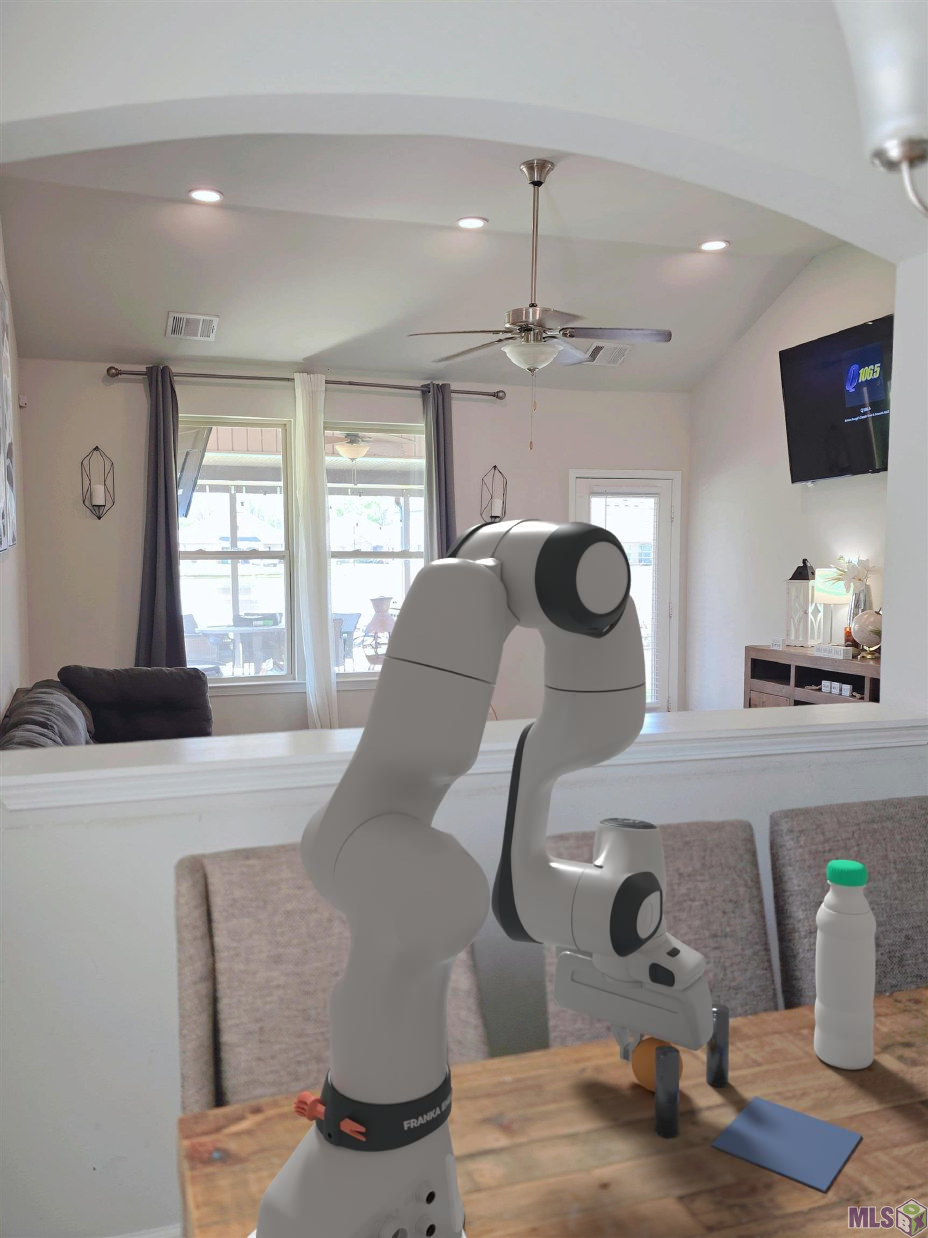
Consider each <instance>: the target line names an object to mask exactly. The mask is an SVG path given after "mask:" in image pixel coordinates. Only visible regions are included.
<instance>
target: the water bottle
mask: <svg viewBox="0 0 928 1238" xmlns="http://www.w3.org/2000/svg"><path fill="white" fill-rule="evenodd" d="M826 880H827V884H828V885H829V891H828V892H827V894H826V895H825V896H824V898H823V902H822V903H821V904H820V906H819V908H818V910H817V912H816V917H815V922H816V927H817V932H816V941H815V942H816V944H815V992H816V999H815V1002H814V1003H815V1004H814V1020H815V1027H814V1032H813V1033H814V1036H813V1049H814V1052H815V1055H817V1057H818V1058H819V1059H820V1060H821V1061H822V1062H824V1063H826V1064H827V1065H830V1066H832V1067H835V1068H838V1069H842V1070H843V1069H844V1070H848V1071H849V1070H852V1071H855V1070H857V1071H858V1070H862V1069H865V1068H867V1067H869V1066H870V1065H871V1064H872V1063H873V1061H874V1057H875V1056H874V1055H875V1050H874V1049H875V1046H874V1045H875V1044H874V1043H875V1042H874V1035H873V1033H874V1027H875V1009H874V999H875V998H874V997H875V988H876V942H875V934H876V931H877V922H876V921H877V920H876V918H875V916H874V914H873V911H872V909H871V908H870V905H869V902H868V900H867V898H866V897H865V895H864V889H865V888H866V887H867V885H866V884H867V883H868V869H867V867H866V866H865V865H864V864H862V863H861V862H858V861H855V860H848V859H834V860H831V861H829V862H828V864H827V866H826Z"/></svg>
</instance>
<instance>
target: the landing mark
mask: <svg viewBox="0 0 928 1238" xmlns="http://www.w3.org/2000/svg"><path fill="white" fill-rule="evenodd" d="M862 1137H863V1134H860V1133H858V1132H856V1131H852V1130H850V1129H847V1128H845V1127H841V1126H839V1125H836V1124H833V1123H830V1122H827V1121H826V1120H825V1121H824V1120H822V1119H820V1118H817V1117H814V1116H811V1115H809V1114H805V1113H803V1112H800V1111H797V1110H794V1109H791V1108H789V1107H786V1106H784V1105H780V1104H778V1103H776V1102H773V1101H770V1100H767V1099H765V1098H761V1097H759V1096H754V1097H753V1098H752V1099H751V1100H750V1102H749V1103H748V1104H747V1105H746V1106H745V1107H744V1108H743V1109H742V1110H741V1112H740V1113H739V1114H738V1115H736V1116H735V1118H734V1119H733V1120H732V1121H731V1122H730V1123H729V1124H728V1125H727V1126H726V1128H725V1129H724V1130H723V1131H722V1132H721V1133H720V1134H719V1135H718V1136H717V1138H716V1139H715V1140H714V1141H713V1142H711V1147H713V1148H715V1149H718V1150H720V1151H723V1152H725V1153H728V1154H730V1155H732V1156H734V1157H737V1158H740V1159H742V1160H745V1161H748V1162H750V1163H752V1164H754V1165H757V1166H760V1167H762V1168H764V1169H767V1170H768V1171H771V1172H774V1173H776V1174H779V1175H781V1176H784V1177H787V1178H789V1179H791V1180H793V1181H796V1182H798V1183H800V1184H803V1185H806V1186H808V1187H811V1188H813V1189H816V1190H818V1191H820V1192H823V1193H826V1191H827V1190H828V1189H829V1187H830V1185H831V1184H832V1182H833V1181H834V1180H835V1178H836V1176H837V1175H838V1174H839V1172H840V1171H841V1169H842V1167H843V1166H844V1164H845V1163H846V1162H847V1160H848V1159H849V1157H850V1156H851V1154H852V1152H853V1151H854V1149H855V1148H856V1146H857V1145H858V1143H859V1142H860V1140H861V1139H862Z"/></svg>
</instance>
